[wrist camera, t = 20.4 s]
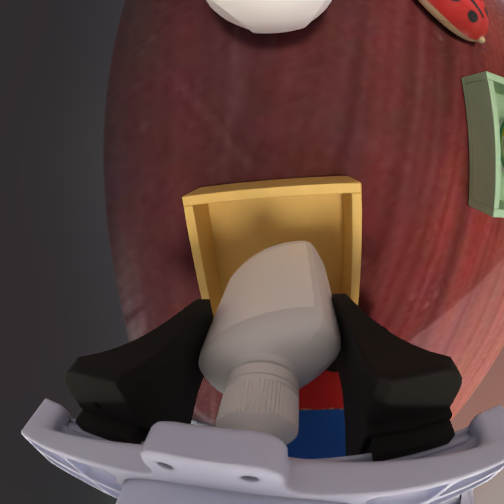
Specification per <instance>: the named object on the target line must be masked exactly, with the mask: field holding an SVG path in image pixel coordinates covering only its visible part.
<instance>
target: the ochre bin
mask: <svg viewBox="0 0 504 504" xmlns="http://www.w3.org/2000/svg"><path fill="white" fill-rule="evenodd" d="M361 192H362V190H361V183H360V182H359V181H357V180H355V179H353V178H351V177H350V176H326V177H306V178H291V179H277V180H265V181H254V182H243V183H234V184H224V185H216V186H208V187H200V188H198V189H196V190H194V191H192V192H190V193H189V194H187V195H185V196H183V197H182V200H183V205H184V211H185V217H186V223H187V228H188V234H189V239H190V245H191V250H192V255H193V260H194V265H195V270H196V275H197V279H198V284H199V289H200V293H201V298H202V299H210V303H211V307H212V312H213V317H214V316H215V313H216V311H217V309H218V306H219V304H220V301H221V299H222V297H223V294H224V292H225V289H226V287H227V285H228V282H229V280H230V278H231V277H232V276H233V274H234V273H235V272H236V271H237V269H238V268H239V267H240V266H241V265H242V264H243V263H245V262H246V261H247V260H248V259H250V258H251V257H252V256H254V255H255V254H257V253H259V252H261V251H262V250H265V249H267V248H269V247H272V246H275V245H278V244H281V243H286V242H292V241H307V242H310V243H311V244H312V245H313V246H314V247H315V249H316V251H317V252H318V254H319V256H320V258H321V260H322V262H323V264H324V266H325V270H326V274H327V278H328V282H329V286H330V290H331V294H342V293H346V294H347V295H348V296H349V297H350V298H351V299H352V300H353V301H354V302H355V303H356V304H357V305H358V300H359V287H360V271H361V246H362V194H361Z"/></svg>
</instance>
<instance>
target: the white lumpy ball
mask: <svg viewBox="0 0 504 504" xmlns="http://www.w3.org/2000/svg"><path fill="white" fill-rule="evenodd" d="M206 1H207V2H208V4H209V5H210V7H211V8H212V9H213V10H214V11H215V12H216V13H218V14H219V15H220V16H221V17H223V18H224V19H226V20H227V21H229V22H231V23H233V24H235V25H238V26H240V27H243V28H246V29H249V30H250V31H251V32H253V33H282V32H289V31H294V30H298V29H302V28H305V27H306V26H307V25H308V24H309V23H310V22H311V21H313V20H314V19H315V18H317V17H318V16H319V15H320V14H322V13H323V12H324V11H325V9H326V8H327V7H328V5H329V4H330V2H331V1H332V0H206Z"/></svg>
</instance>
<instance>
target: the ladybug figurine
mask: <svg viewBox="0 0 504 504" xmlns="http://www.w3.org/2000/svg"><path fill="white" fill-rule="evenodd" d="M418 1H419V2H420V3H421V4H422V5H423V7H424V8H425V9H426V10H427V11H428V12H429V13H430V14H431V15H432V16H433V17H434V18H436V19H437V20H438V21H439V22H440V23H441V24H442V25H444V26H445V27H446V28H447V29H449V30H450V31H451V32H453V33H454V34H456V35H457V36H459V37H461V38H462V39H464V40H467V41H471V42H478V43H480V44H481V43H484V42H485V38H484V37H485V35H486V33H487V31H488V26H489V19H488V13H487V10H486V8H485V5H484V3H483V1H482V0H418Z"/></svg>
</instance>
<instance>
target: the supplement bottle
mask: <svg viewBox="0 0 504 504" xmlns="http://www.w3.org/2000/svg"><path fill="white" fill-rule="evenodd" d="M499 129H500V146H501V169H502V171H503V172H504V118H503V119H501V120H500V122H499Z"/></svg>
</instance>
